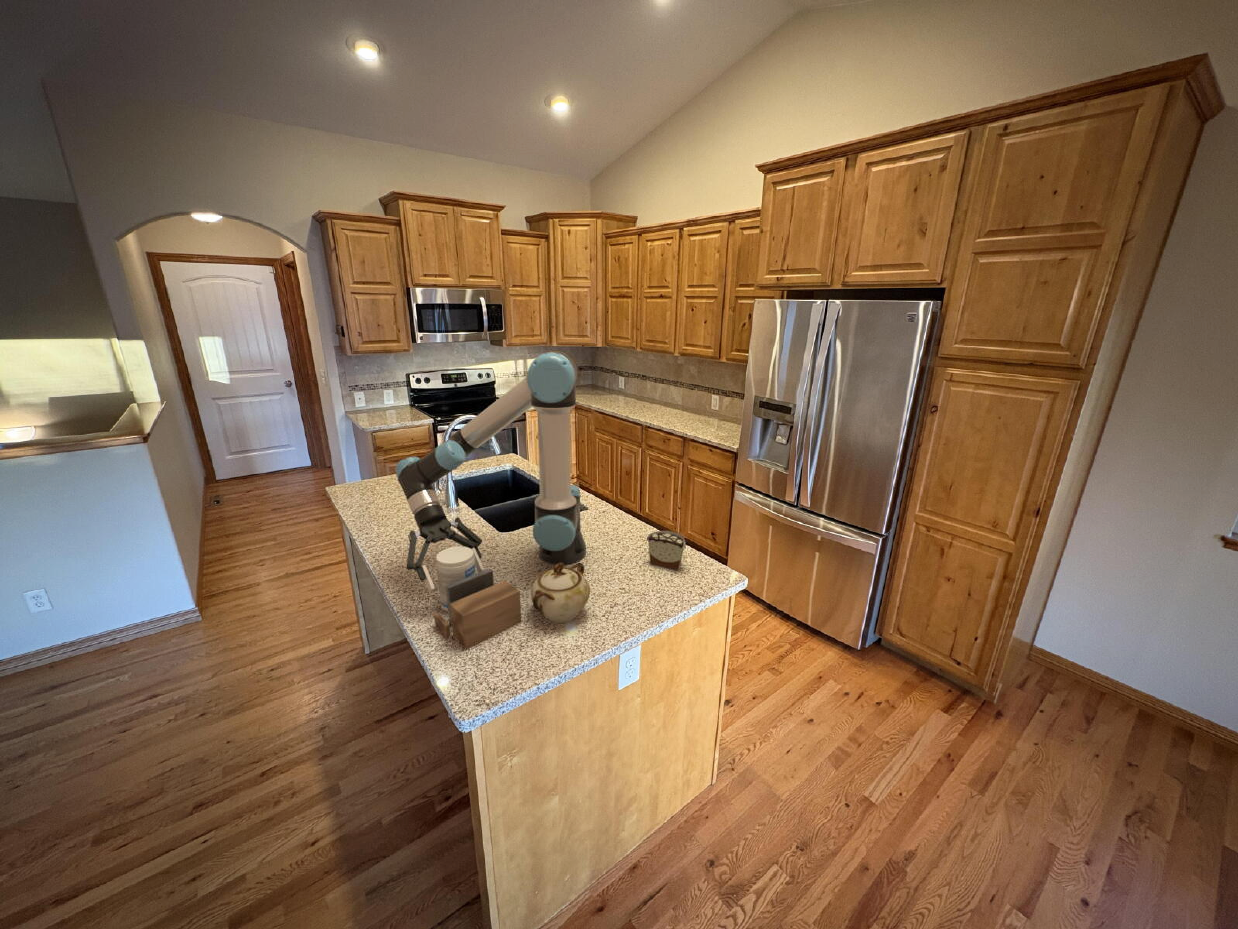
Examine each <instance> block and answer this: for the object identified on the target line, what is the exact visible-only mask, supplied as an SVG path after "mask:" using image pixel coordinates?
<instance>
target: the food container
mask: <svg viewBox="0 0 1238 929" xmlns="http://www.w3.org/2000/svg"><path fill="white" fill-rule="evenodd" d="M647 541H648V555H649V566H651V567H652V566H653V567H656V568H659V569H660V568H661V569H665V570H668V571H672V572H677V573H679V572H680V571H681V569H680V568H681V563H682V558H683V552H684V550H686V548H687V546H686V540H685V538H684V537H683V536H682V534H679V533H677V532H675V531H669V530H657V531H653V532H650V533H649V534H648V536H647V537H646V542H647Z"/></svg>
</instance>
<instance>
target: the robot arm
mask: <svg viewBox="0 0 1238 929" xmlns="http://www.w3.org/2000/svg"><path fill="white" fill-rule="evenodd" d="M528 367H529V368H528V370H527V371H526V373H525V378H524V379H522V380H521V381H519V382H518V383H517V384H516V385H515V386H513V387H512V388H511V389H509V390H508V391H507V392H505V393H504V394H503V395H502V396H501V397H499V398H498V399H497V400H496V401H494V402H492V404H490V405H488V407H487V408H485V409H484V410H483V411H481V412H480V413H478V414H477V415H476V416H475V417H474V418H473V419H471V420H470V421H469V422H467V423H466V424H465V425H464V426H462V427H461V428H460V429H458V430H457V431H456V432H455V433H453V434H452V435H450V436H449V437H450V438H449V437H448V438H449V440H447V439H446V440H447V441H446V440H444V441H443V442H442V443H440V444H439V445H438V446H436V447H435V448H434V449H433V450H431V451H430V452H428V453H427V454H426V455H424V456H423V457H422V458H420V457H418V456H409V457H406V458H405V459H402V460H401V459H400V461H398V462H397V463H396V464H395V467H394V471H395V475H396V477H397V481H398V483H399V485H400V488H401V489H402V491H403V494H404V496H405V498H406V501H407V503H408V506H409V508H410V510H411V513H412V515H413V516H414V517H413V518H414V520H415V523H416V525H417V528H418V530H416V531H415V530H410V532H409V533H408V537H407V538H408V541H409V546H408V553H407V560H406V561H407V563H406V570H407V571H411V570H414V571H415V572H416V573H417V576H418V579H419V580H420V581H421V582H422V581H424V583H425V585H426V588H427V591H428V593H432V592H433V591H434V590H435V585H434V582H433V581H432V578H431V575H430V572H429V571H428V568H427V566H426V564H423V562H424V559H425V557H426V555H427V551H428V550H429V548H430V544H431V543H432V544H436V543H438V542H442V541H445V540H446V539H447V540H449V541H450V540H451V541H453V542H455V543H457V544H459V545H460V546H462V547H468V548H470V549H472V550H473V553H474V558H475V569H476V572H477V573H479V572H482V571H485V568H484V565H483V563H482V561H481V559H482V558H483V557H482V553H481V551H480V550H479V546H480V545H481V544H482V543H483V539H481V537H480V536H478V535H477V534H476V533H475V532H474V531H473V530H471V529H470V528H469V527H467V526H466V525H465V524H464V523H463V521H462V520H461V518H460V517H458V516H457V517H456V518H454V519H453V520H448V518H447V515H446V513H445V511H444V509H443V506H442V505H441V502H440V499H439V497H438V494H437V493H436V491H435V488H434V485H433V484H435V483H437V482H438V481H439V480H440V479H442V478H443V477H445V476H447V475H449V474H451V473H452V472H453V471H454V470H456V469H458V468H460V466H461V465H463V464H464V463H465V462H466V459H467V457H468V456H470V455H471V454H472V453H473V452H475V451H476V450H477V449H479V447H481V446H482V445H484V444H485V443H487V441H489V440H490V439H492V438H493V437H494V436H496V435H498V434H499V432H501V431H503V429H505V428H506V427H508V426H509V425H510V424H511V423H513V422H514V421H516V420H517V419H518V418H519V417H520V416H523V414H524V413H527V411H529V410H530V409H531V408H534V410H535V411H536V412H537V413H536V414H537V440H538V442H537V443H538V469H539V470H538V474H539V495H538V497H536V498H535V500H534V524H533V525H532V538H533V539H534V541H535V542H536V543H537V545H538V546H539V547H538V556H539V558H540V559H541V560H542V561H543V562H545V563H547V564H551V565H557V564H558V563H563V564H564V566H566V565H571V564H574V563H575V564H576V562H577V563H579V561H581V560H583V559H584V558H585V557H586V555H587V544H586V542H585V539H584V536H583V534H582V531H581V530H582V529H581V496H582V495H581V490H580V488H579V487H578V486H577V485H574V484H572V479H571V478H572V477H571V474H572V473H571V471H572V470H571V469H572V468H571V466H572V465H571V462H572V460H571V412H572V409H574V408H575V407H576V404H577V403H576V399H577V395H576V394H577V390H576V385H577V384H576V383H577V380H578V376H579V365H578V363H577V360H576V359H575V358H574V356H573V355H572V354H570V353H569V352H567V351H565V350H563V349H551V350H548V351H546V352H543V353H541V354H540V355H538V356H537V357H535V359H533V360H532V362H531V363H530V365H529V366H528ZM451 527H453V528H454V529H456V530H457V531H458V532H459V533H461V534H462V535H461V534H459V533H457V532H456V531H455V530H453V529H451ZM419 536H420V537H421V538H423V539H424V543H423V545H422V548H421V550H420V553H419V555H418V558H417V560H416V562H415V554H416V548H417V547H416V546H417V541H418V539H419Z"/></svg>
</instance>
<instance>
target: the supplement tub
mask: <svg viewBox="0 0 1238 929" xmlns="http://www.w3.org/2000/svg"><path fill="white" fill-rule="evenodd" d="M435 559H436V560H435V561H436V562H435V564H436V565H435V566H436V575H437V582H438V590H439V592H438V593H439V602H440V606H441V608H442V609H443V610H444V611H446V612H448V604H447V595H446V585H449V584H451V583H454V582H456V581H459V580H462V579H464V578H467V577H469V576H472V575H474V574H477V569H476V567H475V558H474V553H473V550H472V549H470V548H468V547H465V546H453V547H452V546H451V547H448V548H445V549H443V550H441V551H440V552H438V553H437V554H436V556H435Z"/></svg>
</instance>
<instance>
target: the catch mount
mask: <svg viewBox="0 0 1238 929" xmlns="http://www.w3.org/2000/svg"><path fill="white" fill-rule="evenodd" d="M449 605H450V614H451V622H450V623H449V622H448V621H447V620H446V619H445V618H444V617H443V616H442V615H441V614H440V613H439V612H437V613H434V614H433V617H434V624H435V625H434V626H435V628H436V629H437V630H438V631H439V632H440V633H441V634H442V635H443V636H444V637H445V638H446V639H449V638H451V637H452V636H453V638H454V639H455V640H456V641H457V642H458V643H459V644H460V645H461V646H462V647H463V648H464V649H465V650H468V649H470V648H473V647H474V646H476V645H478V644H481V643H483V642H485V641H487V640H489V639H491V638H492V637H495V636H497V635H499V634H501V633H503V632H505V631H507V630H509V629H511V628H512V627H515V626H517V625H519V624H521V623H522V611H521V610H522V609H521V608H522V607H521V592H520V590H519V589H517V588H516V587H515V586H513V585H512V584H511V583H510V582H508V581H507V580H503V581H501V582H498V583H496V584H494V585H493V586H491V587H488V588H486V589H484V590H481V591H479V592H476V593H474V594H472V595H469V596H467V597H464V598H462V599H460V600H457V601H455V602H453V603H450V604H449ZM450 624H451V627H450ZM451 630H452V635H451Z"/></svg>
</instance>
